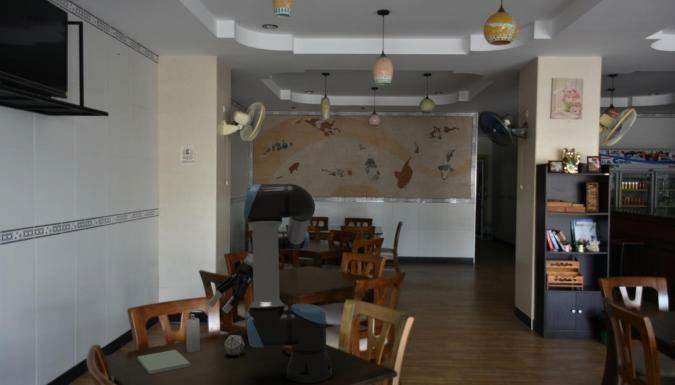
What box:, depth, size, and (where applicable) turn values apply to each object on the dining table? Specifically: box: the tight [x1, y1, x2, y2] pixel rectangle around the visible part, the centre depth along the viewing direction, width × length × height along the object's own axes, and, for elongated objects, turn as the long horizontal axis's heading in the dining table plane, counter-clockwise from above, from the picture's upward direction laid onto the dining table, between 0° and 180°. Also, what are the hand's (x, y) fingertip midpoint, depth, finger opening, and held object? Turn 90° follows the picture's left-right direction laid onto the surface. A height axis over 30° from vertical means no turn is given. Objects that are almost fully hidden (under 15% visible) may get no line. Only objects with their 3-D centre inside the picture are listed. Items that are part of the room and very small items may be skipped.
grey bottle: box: [185, 313, 201, 353], centre depth 203 cm, size 5×5×14 cm
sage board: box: [137, 349, 191, 375], centre depth 189 cm, size 18×14×1 cm
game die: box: [221, 333, 248, 358], centre depth 196 cm, size 9×8×10 cm
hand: (217, 308), depth 209 cm, fingers open, 13 cm apart
